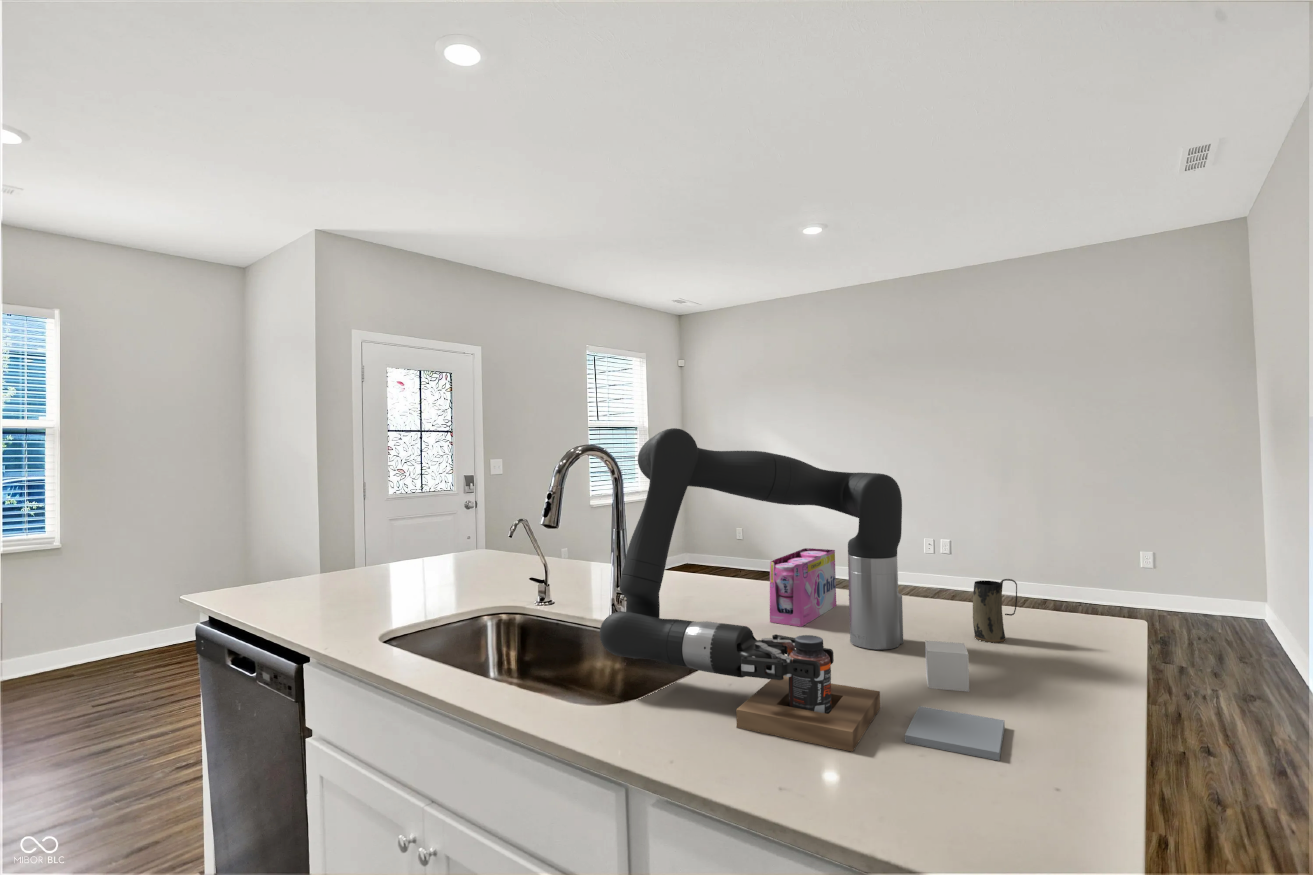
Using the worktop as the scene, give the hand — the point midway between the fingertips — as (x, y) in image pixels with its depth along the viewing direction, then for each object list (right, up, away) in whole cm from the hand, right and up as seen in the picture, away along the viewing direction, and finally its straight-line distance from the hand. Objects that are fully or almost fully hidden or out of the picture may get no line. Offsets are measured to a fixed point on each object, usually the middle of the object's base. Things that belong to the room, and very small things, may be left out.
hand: (825, 663), depth 96 cm
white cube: (+23, -8, +14) cm, 28 cm away
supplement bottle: (-2, -8, +1) cm, 9 cm away
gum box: (+10, -9, +60) cm, 62 cm away
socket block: (-2, -8, +1) cm, 8 cm away
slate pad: (+16, -8, -6) cm, 19 cm away
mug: (+43, -8, +37) cm, 57 cm away
